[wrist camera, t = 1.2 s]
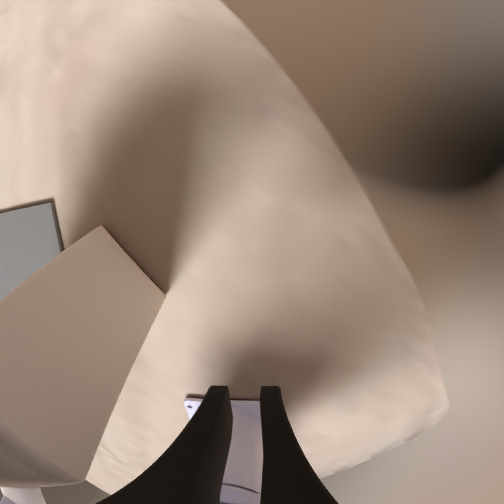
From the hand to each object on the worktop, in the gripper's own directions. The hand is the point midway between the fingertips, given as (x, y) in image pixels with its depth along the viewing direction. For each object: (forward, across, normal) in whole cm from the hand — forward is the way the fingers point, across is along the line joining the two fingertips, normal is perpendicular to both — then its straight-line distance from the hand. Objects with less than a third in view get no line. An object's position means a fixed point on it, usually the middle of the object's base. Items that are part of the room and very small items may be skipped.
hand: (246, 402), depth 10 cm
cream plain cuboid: (+10, +12, 0) cm, 16 cm away
